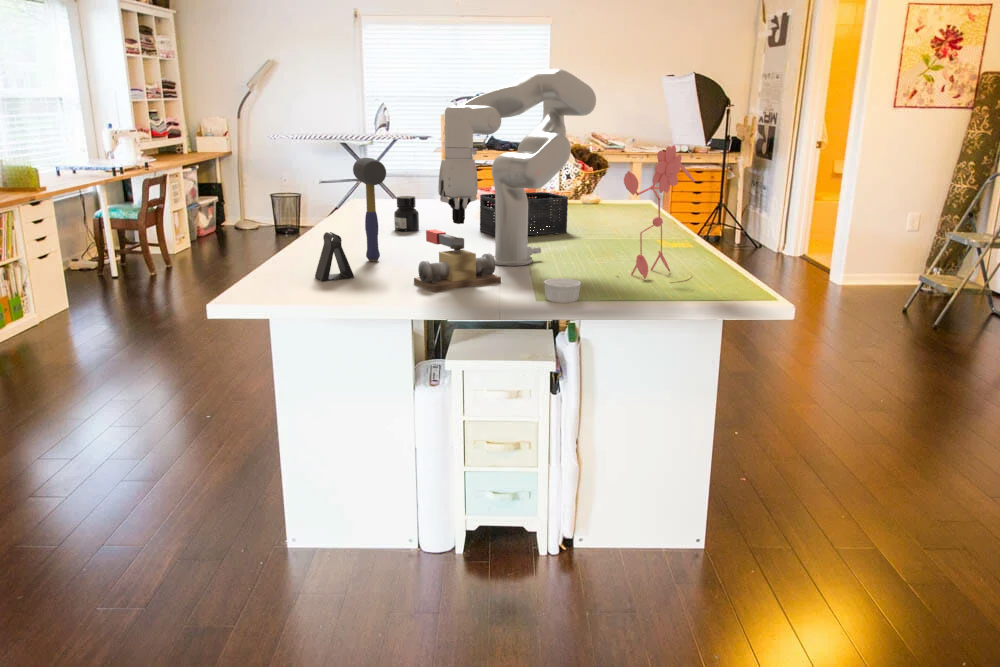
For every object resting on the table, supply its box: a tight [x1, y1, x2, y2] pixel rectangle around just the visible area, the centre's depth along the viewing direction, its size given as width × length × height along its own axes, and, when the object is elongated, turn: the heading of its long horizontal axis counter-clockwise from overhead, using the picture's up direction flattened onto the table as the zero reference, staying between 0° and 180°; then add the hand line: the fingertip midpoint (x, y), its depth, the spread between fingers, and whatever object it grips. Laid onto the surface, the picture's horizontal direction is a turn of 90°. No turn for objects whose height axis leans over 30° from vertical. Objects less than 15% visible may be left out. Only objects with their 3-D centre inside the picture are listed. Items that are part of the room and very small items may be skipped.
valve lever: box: [425, 229, 465, 250], centre depth 205 cm, size 16×4×3 cm, turn 33°
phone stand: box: [314, 231, 355, 283], centre depth 206 cm, size 9×6×12 cm, turn 120°
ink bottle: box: [393, 195, 420, 232], centre depth 282 cm, size 10×9×12 cm
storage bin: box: [479, 191, 569, 237], centre depth 279 cm, size 29×19×13 cm
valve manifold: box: [413, 249, 502, 293], centre depth 201 cm, size 20×11×9 cm, turn 123°
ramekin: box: [543, 277, 582, 304], centre depth 186 cm, size 9×9×4 cm
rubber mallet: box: [352, 157, 387, 262], centre depth 225 cm, size 12×8×30 cm, turn 25°
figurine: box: [615, 145, 696, 284], centre depth 206 cm, size 15×26×35 cm, turn 133°
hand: (458, 223), depth 210 cm, fingers closed
